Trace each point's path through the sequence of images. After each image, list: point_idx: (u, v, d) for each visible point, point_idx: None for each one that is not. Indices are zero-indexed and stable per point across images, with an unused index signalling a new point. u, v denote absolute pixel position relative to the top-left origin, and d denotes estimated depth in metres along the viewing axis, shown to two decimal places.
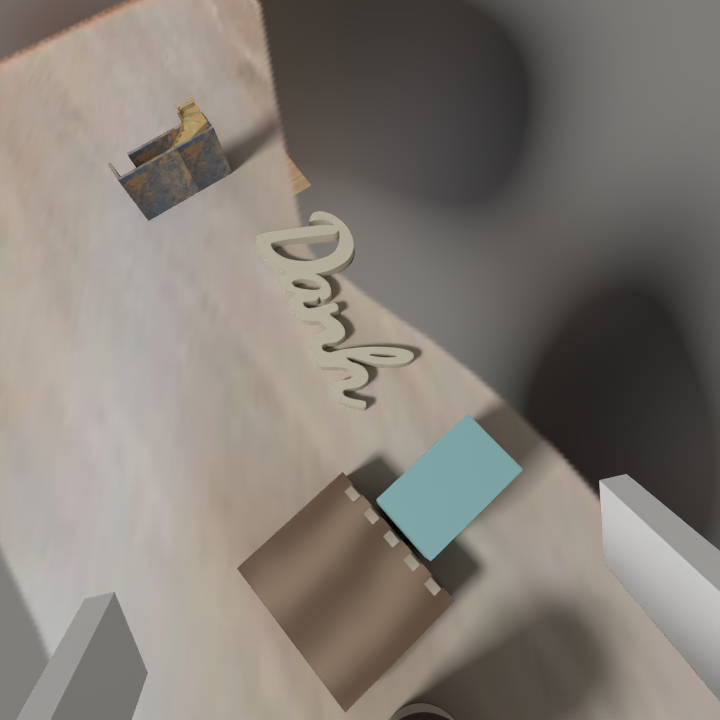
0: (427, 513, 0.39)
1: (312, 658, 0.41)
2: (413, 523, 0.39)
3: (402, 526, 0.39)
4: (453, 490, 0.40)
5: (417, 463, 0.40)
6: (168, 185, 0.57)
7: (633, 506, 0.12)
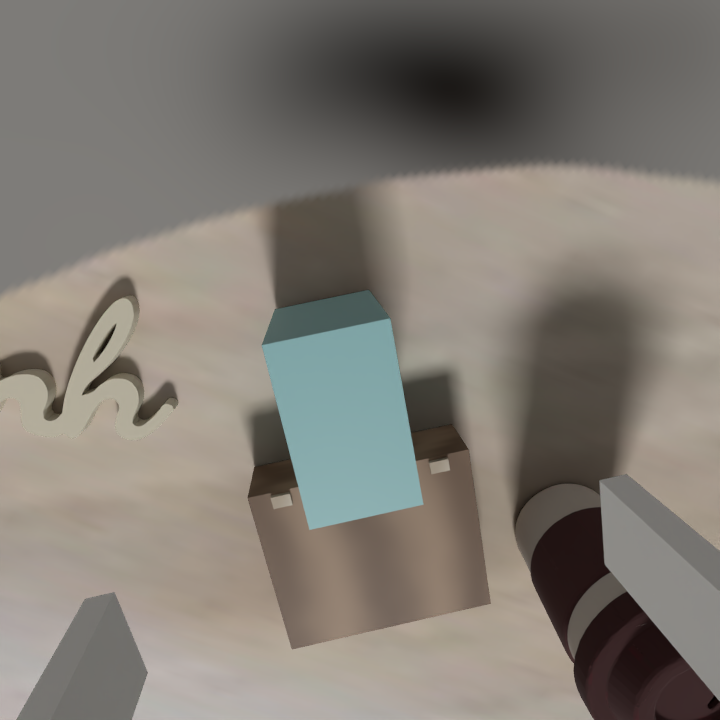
0: (366, 478, 0.26)
1: (425, 612, 0.35)
2: (367, 501, 0.26)
3: (362, 516, 0.26)
4: (358, 430, 0.25)
5: (293, 456, 0.25)
6: None
7: (632, 506, 0.12)
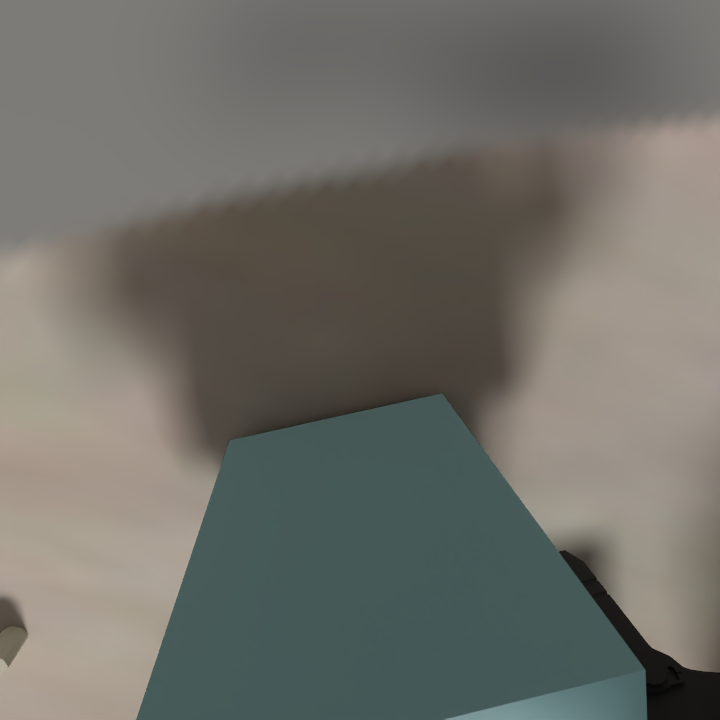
0: None
1: None
2: None
3: None
4: None
5: None
6: None
7: None
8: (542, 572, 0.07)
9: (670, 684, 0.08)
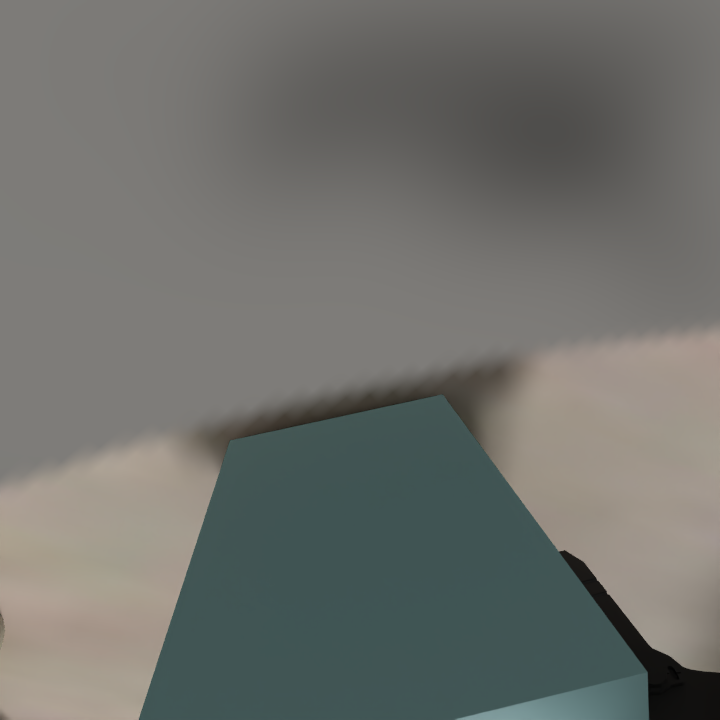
0: None
1: None
2: None
3: None
4: None
5: None
6: None
7: None
8: (544, 574, 0.07)
9: (670, 684, 0.08)
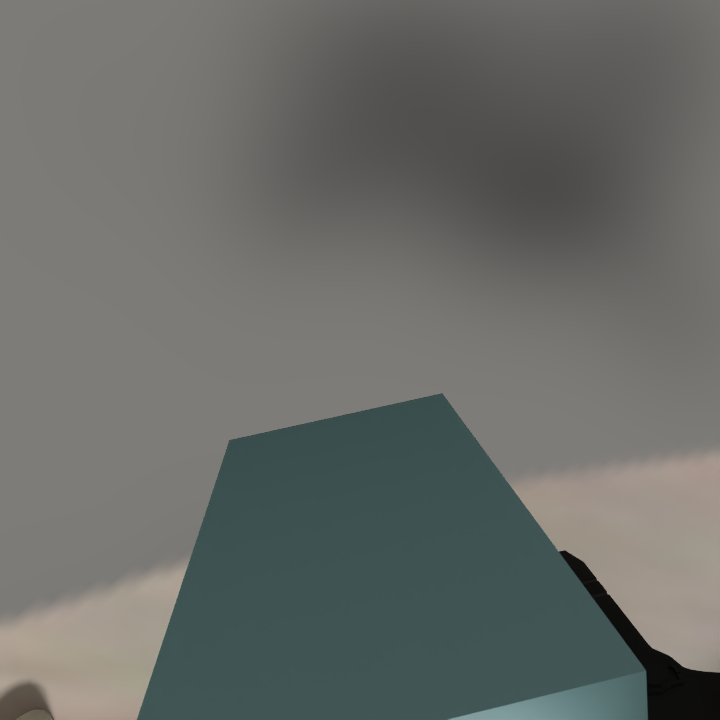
0: None
1: None
2: None
3: None
4: None
5: None
6: None
7: None
8: (543, 573, 0.07)
9: (670, 684, 0.08)
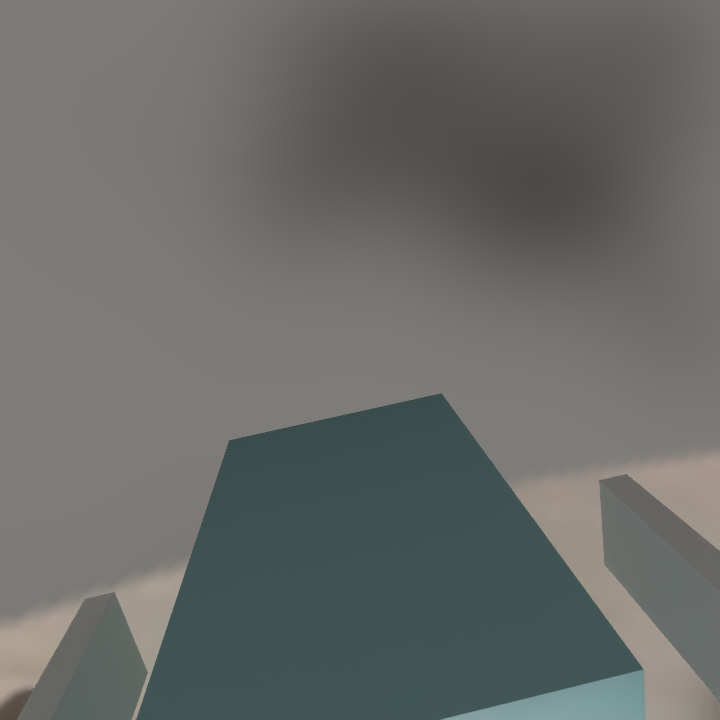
0: None
1: None
2: None
3: None
4: None
5: None
6: None
7: (633, 506, 0.12)
8: (541, 572, 0.07)
9: None
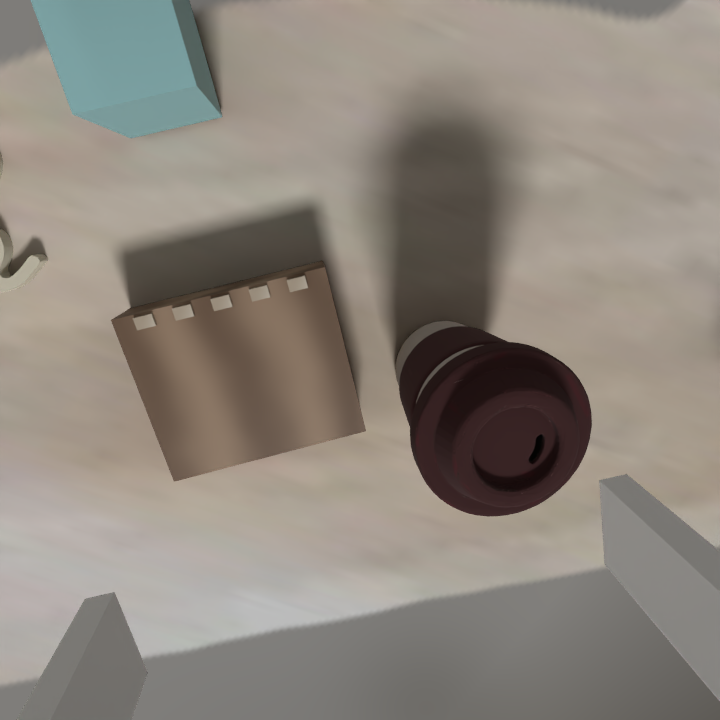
0: (126, 46, 0.24)
1: (302, 441, 0.37)
2: (132, 78, 0.24)
3: (130, 98, 0.24)
4: None
5: (38, 12, 0.23)
6: None
7: (633, 506, 0.12)
8: None
9: None
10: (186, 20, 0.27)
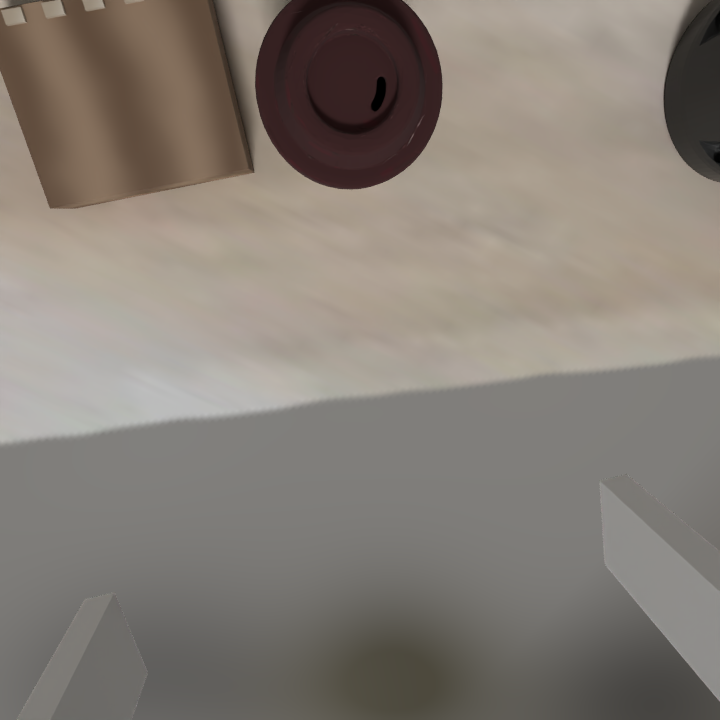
0: None
1: (182, 174, 0.36)
2: None
3: None
4: None
5: None
6: None
7: (633, 506, 0.12)
8: None
9: None
10: None
